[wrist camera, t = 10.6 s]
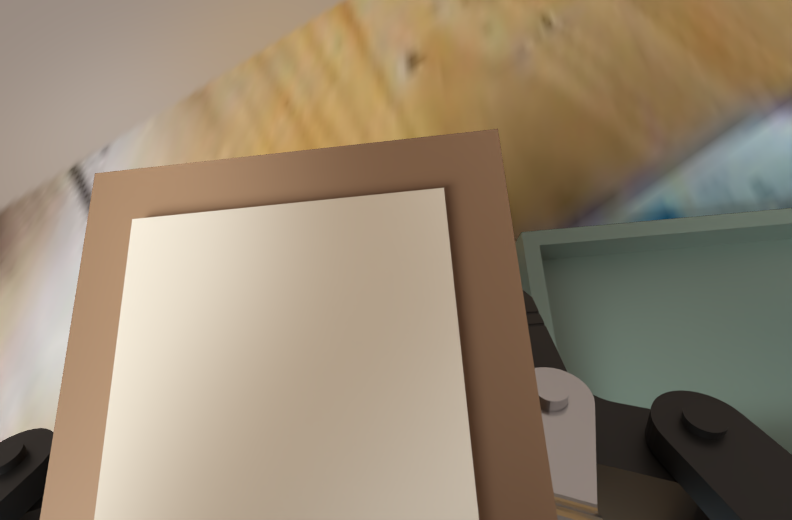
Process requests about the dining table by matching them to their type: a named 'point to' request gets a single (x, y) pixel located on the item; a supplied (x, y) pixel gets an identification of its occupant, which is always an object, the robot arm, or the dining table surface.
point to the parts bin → (673, 309)
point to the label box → (302, 343)
